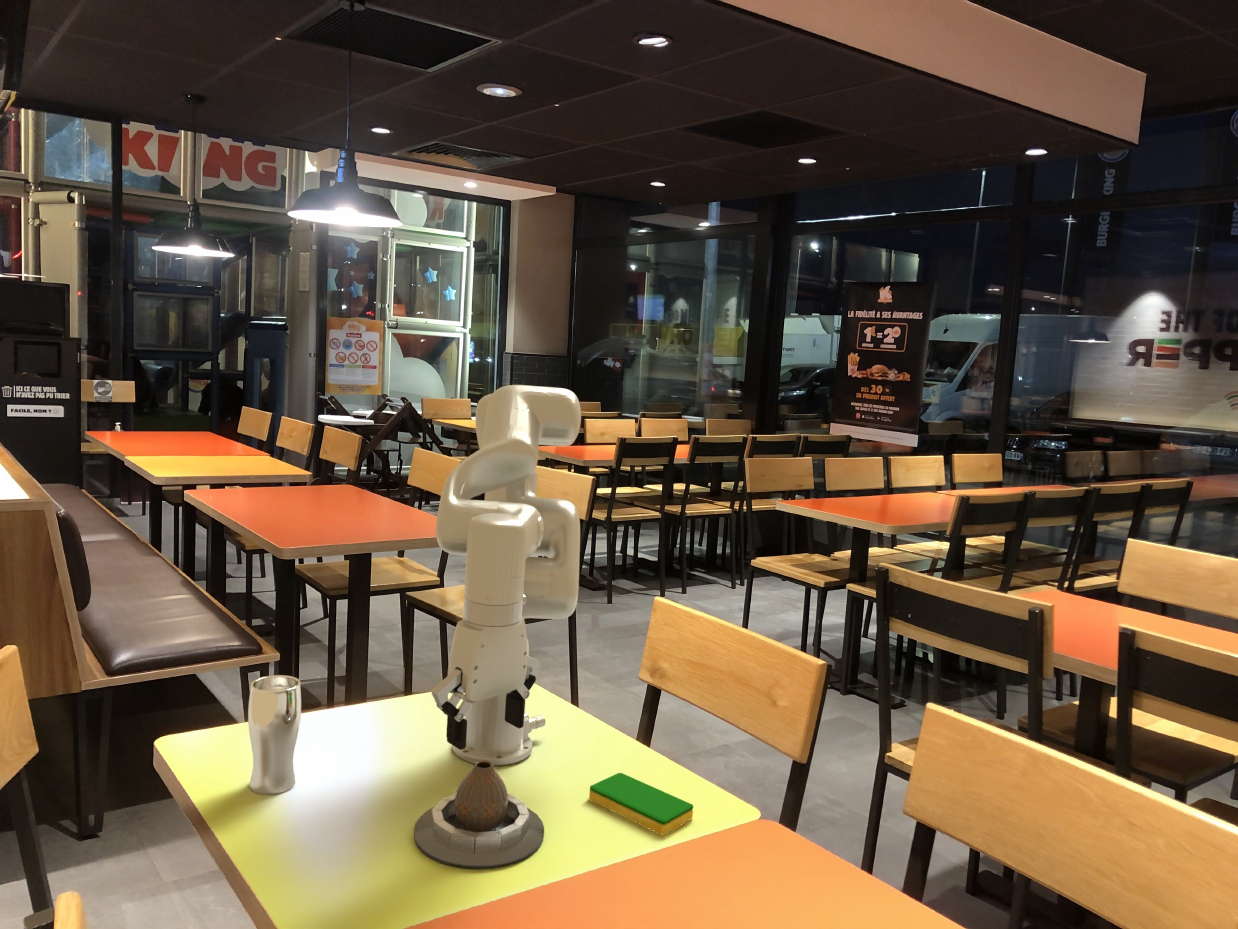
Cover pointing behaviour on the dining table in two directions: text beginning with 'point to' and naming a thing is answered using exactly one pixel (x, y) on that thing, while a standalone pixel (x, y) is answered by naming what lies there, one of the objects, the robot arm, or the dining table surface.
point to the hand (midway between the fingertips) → (485, 734)
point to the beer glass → (273, 732)
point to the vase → (481, 799)
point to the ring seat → (478, 837)
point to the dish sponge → (641, 803)
